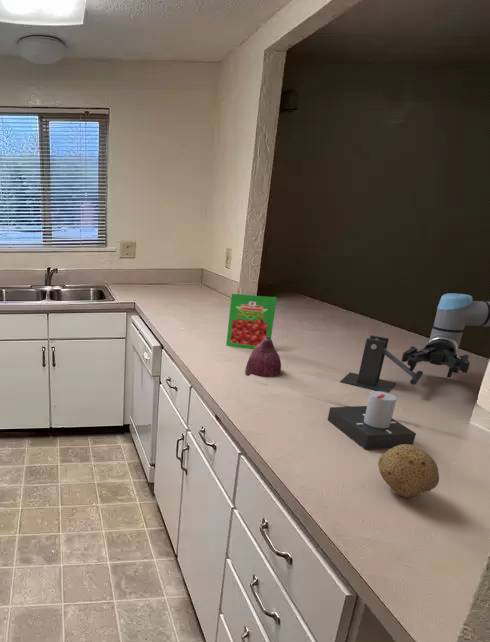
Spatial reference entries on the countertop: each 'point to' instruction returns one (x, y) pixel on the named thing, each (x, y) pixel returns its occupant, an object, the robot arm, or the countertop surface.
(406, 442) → the timer panel
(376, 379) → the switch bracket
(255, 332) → the tomato puree packet
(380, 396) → the timer knob
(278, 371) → the vegetable
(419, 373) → the switch lever
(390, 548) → the countertop surface
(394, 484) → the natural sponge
